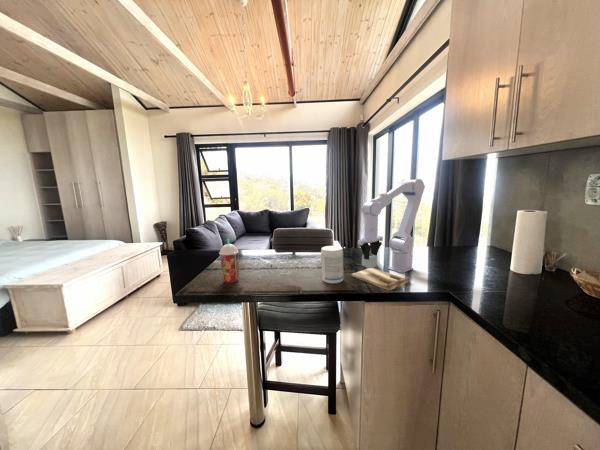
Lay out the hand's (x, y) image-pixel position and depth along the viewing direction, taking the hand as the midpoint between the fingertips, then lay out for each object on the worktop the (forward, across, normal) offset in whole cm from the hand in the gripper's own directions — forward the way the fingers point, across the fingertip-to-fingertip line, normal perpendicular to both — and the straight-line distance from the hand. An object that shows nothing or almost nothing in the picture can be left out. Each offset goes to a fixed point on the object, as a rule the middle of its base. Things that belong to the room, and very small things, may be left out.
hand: (370, 258), depth 110 cm
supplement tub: (+9, +17, -7) cm, 20 cm away
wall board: (+8, 0, +5) cm, 10 cm away
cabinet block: (+4, 0, -1) cm, 4 cm away
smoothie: (+9, +54, -33) cm, 64 cm away
